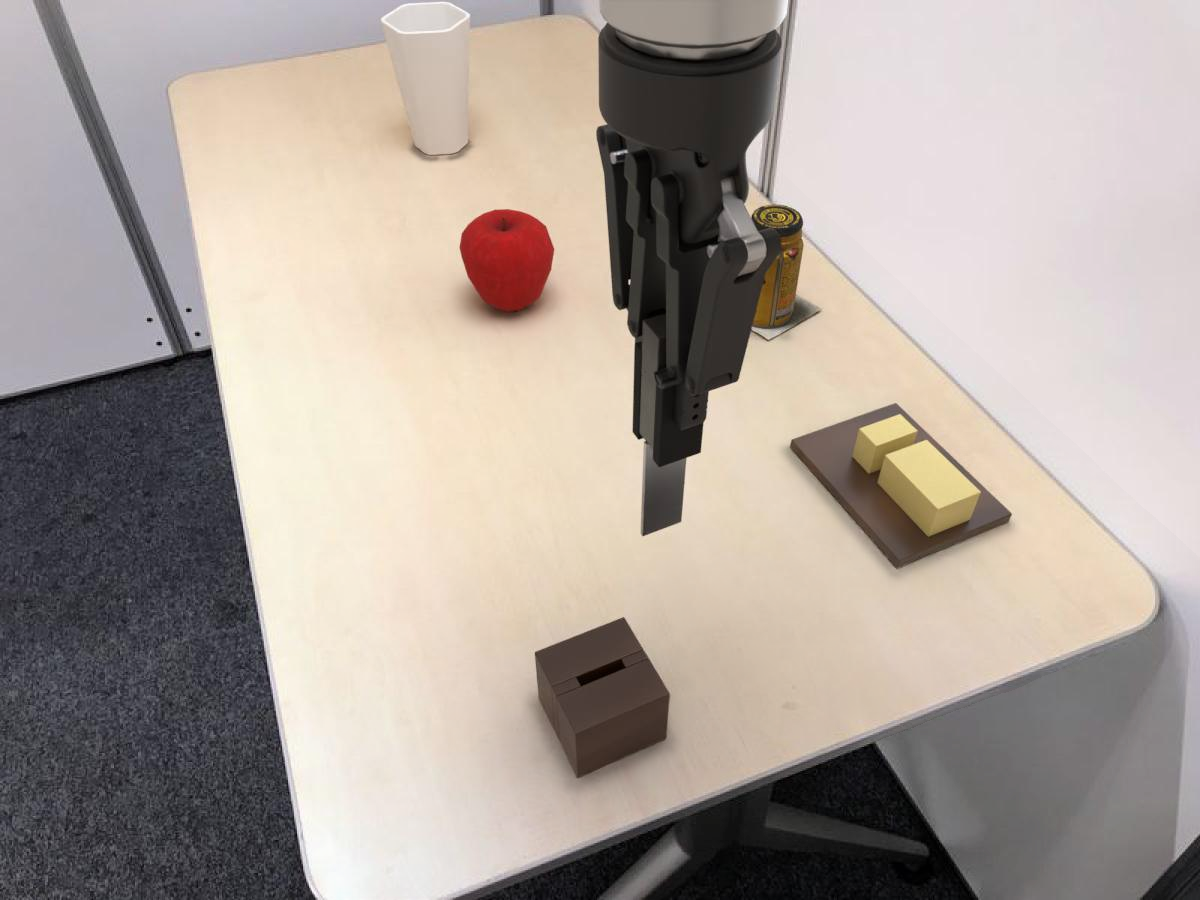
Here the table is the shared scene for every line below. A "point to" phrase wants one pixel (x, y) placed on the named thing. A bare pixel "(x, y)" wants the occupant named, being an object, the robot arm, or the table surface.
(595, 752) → the knife block
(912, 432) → the butter slice
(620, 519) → the table surface
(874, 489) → the butter board
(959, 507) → the butter block
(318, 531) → the table surface
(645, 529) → the butter knife
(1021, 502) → the table surface
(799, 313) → the condiment
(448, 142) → the cup
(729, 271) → the robot arm
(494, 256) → the apple
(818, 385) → the table surface
